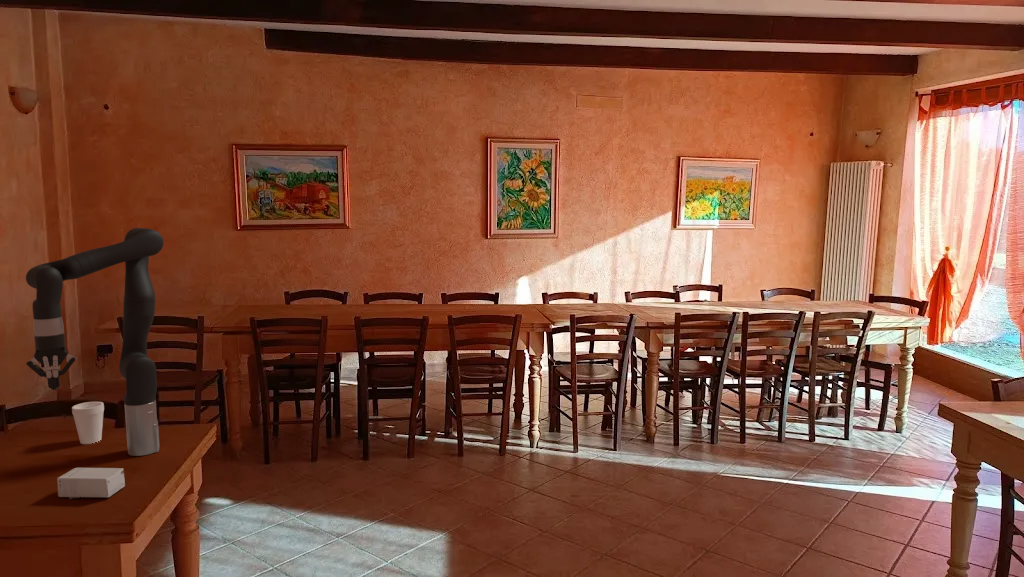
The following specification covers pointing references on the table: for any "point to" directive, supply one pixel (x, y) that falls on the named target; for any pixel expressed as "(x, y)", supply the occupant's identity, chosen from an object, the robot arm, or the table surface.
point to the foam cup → (89, 421)
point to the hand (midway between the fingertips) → (54, 389)
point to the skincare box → (91, 482)
